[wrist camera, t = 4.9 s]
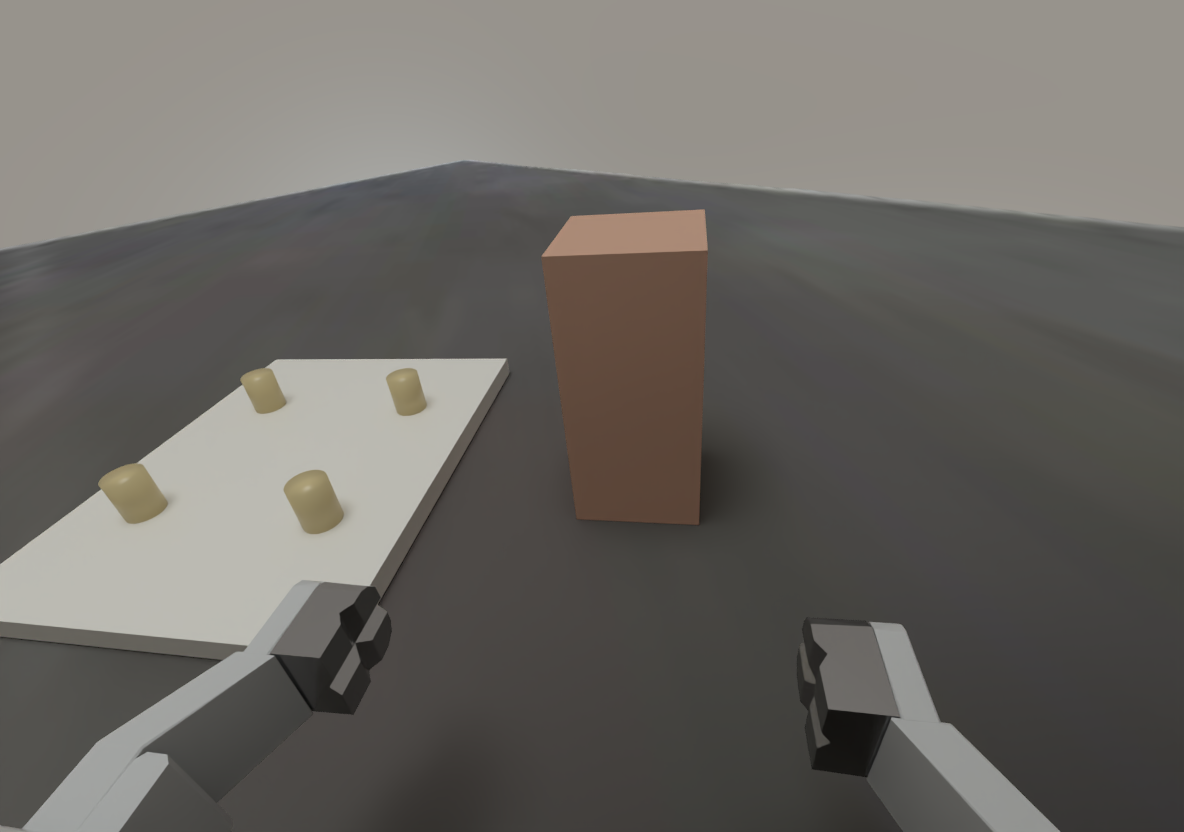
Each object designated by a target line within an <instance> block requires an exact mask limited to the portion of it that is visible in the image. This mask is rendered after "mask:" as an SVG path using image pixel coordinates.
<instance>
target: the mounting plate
mask: <svg viewBox="0 0 1184 832" xmlns="http://www.w3.org/2000/svg"><path fill="white" fill-rule="evenodd" d="M508 375H509V367H508V362H507V359H320V360H275V361H274V362H273V363H271V364H270V365H269V366H267V367H266V368H262V369H257V370H253V371H251V372H248V373H246V374H245V375H243V376H242V377H241V379H240V380H241V382H242V384H243V385H242V386H240V387H239V388H238V389H236V390H235V391H233V392H232V393H231V394H229V395H228V396H227V397H225V398H224V399H223V400H221V401H220V402H219V403H217V404H216V405H215V406H213V407H212V408H211V409H209V410H208V411H206V412H205V413H204V414H202V415H201V416H200V417H198V418H197V419H196V420H194V421H193V422H192V423H190V424H189V425H188V426H186V427H185V428H184V429H182V430H181V431H180V432H178V433H177V434H175V435H174V436H173V437H171V438H170V439H169V440H167V441H166V442H165V443H163V444H162V445H161V446H159V447H158V448H157V449H155V450H154V451H153V452H151V453H150V454H148V455H147V456H146V457H144V458H143V459H142V460H140V461H139V462H138V463H136V464H129V465H125V466H122V467H119V468H117V469H115V470H113V471H111V472H109V473H108V474H106V475H105V476H104V477H102V478H101V480H100V481H99V483H98V485H99V487H100V488H101V490H100V491H99V492H97V493H96V494H95V495H93V496H92V497H90V498H89V499H88V500H86V501H85V502H84V503H82V504H81V505H80V506H78V507H77V508H76V509H74V510H73V511H72V512H70V513H69V514H68V515H66V516H65V517H63V518H62V519H61V520H59V521H58V522H57V523H55V524H54V525H53V526H51V527H50V528H49V529H47V530H46V531H45V532H43V533H42V534H41V535H39V536H38V537H37V538H35V539H34V540H32V541H31V542H30V543H28V544H27V545H26V546H24V547H23V548H22V549H20V550H19V551H18V552H16V553H15V554H14V555H12V556H11V557H10V558H8V559H7V560H5V561H4V562H3V563H1V564H0V637H8V638H18V639H28V640H37V641H47V642H56V643H66V644H75V645H85V646H94V647H104V648H113V649H123V650H133V651H142V652H152V653H161V654H171V655H180V656H190V657H199V658H209V659H218V660H224V659H226V658H227V657H229V656H230V655H232V654H234V653H235V652H244V650H245V649H246V648H247V646H248V645H249V644H250V643H251V641H252V640H253V639H254V637H255V636H256V635H257V633H258V632H259V631H260V629H261V628H262V627H263V625H264V624H265V623H266V621H267V620H268V619H269V617H270V616H271V615H272V613H273V612H274V611H275V609H276V608H277V607H278V605H279V604H280V603H281V601H282V600H283V599H284V597H285V596H286V595H287V593H288V592H289V591H290V589H291V588H292V587H293V586H294V585H295V584H297V583H298V582H300V581H301V580H310V581H323V582H332V583H342V584H353V585H363V586H374V587H376V589H377V591H378V593H379V595H380V597H381V598H382V596H383V594H384V593H385V591H386V589H387V587H388V586H389V584H390V582H391V580H392V579H393V577H394V575H395V573H396V572H397V570H398V568H399V566H400V565H401V563H402V561H403V559H404V558H405V556H406V554H407V552H408V551H409V549H410V547H411V545H412V544H413V542H414V540H415V538H416V537H417V535H418V533H419V531H420V529H421V528H422V526H423V524H424V522H425V521H426V519H427V517H428V515H429V514H430V512H431V510H432V508H433V507H434V505H435V503H436V501H437V500H438V498H439V496H440V494H441V493H442V491H443V489H444V487H445V486H446V484H447V482H448V480H449V479H450V477H451V475H452V473H453V472H454V470H455V468H456V466H457V464H458V463H459V461H460V459H461V457H462V456H463V454H464V452H465V450H466V449H467V447H468V445H469V443H470V442H471V440H472V438H473V436H474V435H475V433H476V431H477V429H478V428H479V426H480V424H481V422H482V421H483V419H484V417H485V415H486V414H487V412H488V410H489V408H490V407H491V405H492V403H493V401H494V400H495V398H496V396H497V394H498V392H499V391H500V389H501V387H502V385H503V384H504V382H505V380H506V378H507V377H508ZM381 598H380V600H381ZM380 600H379V602H380ZM379 602H378V603H379ZM378 603H377V604H378Z"/></svg>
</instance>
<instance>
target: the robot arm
mask: <svg viewBox="0 0 1184 832" xmlns="http://www.w3.org/2000/svg"><path fill="white" fill-rule="evenodd" d="M380 598H381V597H380V595H379V593H378V591H377V589H376V587H374V586H363V585H353V584H342V583H332V582H323V581H310V580H301V581H300V582H298V583H297V584H295V585H294V586H293V587H292V588H291V589H290V591H289V592H288V593H287V595H286V596H285V597H284V599H283V600H282V601H281V603H280V604H279V605H278V607H277V608H276V609H275V611H274V612H273V613H272V615H271V616H270V617H269V619H268V620H267V621H266V623H265V624H264V625H263V627H262V628H261V629H260V631H259V632H258V633H257V635H256V636H255V637H254V639H253V640H252V641H251V643H250V644H249V645H248V646H247V648H246V649H245V650H244V652H235V653H234V654H232V655H230V656H229V657H227V658H226V659H224V660H223V661H221V662H220V663H218V664H217V665H215V666H214V667H212V668H210V669H209V670H207V671H206V672H204V673H203V674H201V675H200V676H198V677H197V678H195V679H193V680H192V681H190V682H189V683H187V684H186V685H184V686H183V687H181V688H180V689H178V690H177V691H175V692H173V693H172V694H170V695H169V696H167V697H166V698H164V699H163V700H161V701H160V702H158V703H157V704H155V705H153V706H152V707H150V708H149V709H147V710H146V711H144V712H143V713H141V714H140V715H138V716H136V717H135V718H133V719H132V720H130V721H129V722H127V723H126V724H124V725H123V726H121V727H120V728H118V729H116V730H115V731H113V732H112V733H110V734H109V735H107V736H106V737H104V738H103V739H101V740H100V741H98V742H97V743H96V744H95V745H94V746H93V748H92V749H91V750H90V751H89V752H88V753H87V754H86V756H85V757H84V758H83V759H82V760H81V761H80V763H79V764H78V765H77V766H76V767H75V768H74V769H73V771H72V772H71V773H70V774H69V775H68V776H67V778H66V779H65V780H64V781H63V782H62V783H61V785H60V786H59V787H58V788H57V789H56V790H55V791H54V793H53V794H52V795H51V796H50V797H49V798H48V800H47V801H46V802H45V803H44V804H43V805H42V806H41V808H40V809H39V810H38V811H37V812H36V813H35V815H34V816H33V817H32V818H31V819H30V820H29V821H28V823H27V824H26V825H25V826H24V827H23V828H22V829H18V828H13V827H7V826H2V825H0V832H230V831H231V830H232V828H233V822H232V818H231V817H230V816H229V815H228V814H227V813H226V812H225V811H224V810H223V809H222V808H221V807H220V806H219V805H218V804H217V802H218V801H219V800H220V799H222V798H223V797H224V796H225V795H226V794H227V793H228V792H229V791H230V790H231V789H232V788H234V787H235V786H236V785H237V784H238V783H239V782H240V781H241V780H242V779H243V778H244V777H245V776H247V775H248V774H249V773H250V772H251V771H252V770H253V769H254V768H255V767H256V766H257V765H258V764H260V763H261V762H262V761H263V760H264V759H265V758H266V757H267V756H268V755H269V754H270V753H271V752H273V751H274V750H275V749H276V748H277V747H278V746H279V745H280V744H281V743H282V742H283V741H285V740H286V739H287V738H288V737H289V736H290V735H291V734H292V733H293V732H294V731H295V730H296V729H298V728H299V727H300V726H301V725H302V724H303V723H304V722H305V721H306V720H307V719H308V718H309V717H311V716H312V715H313V712H312V711H316V712H328V713H339V714H351V715H354V713H355V711H356V709H357V707H358V705H359V703H360V701H361V699H362V698H363V696H364V694H365V692H366V690H367V688H368V686H369V684H370V682H371V680H370V673H369V670H370V669H371V668H372V667H373V666H375V665H376V664H377V663H379V662H380V661H381V660H382V658H383V656H384V654H385V652H386V650H387V648H388V646H389V641H390V637H391V632H392V628H391V620H390V617H389V615H388V612H387V611H385V610H384V609H383V608H381V607H380V606H379V605H378V604H377V603H378V602H379V600H380ZM802 633H803V638H804V643H802V644H801V645H799V648H798V655H797V681H798V690H799V696H800V702H801V703H802V704H803V705H804V706H805V708H806V709H807V710H808V715H807V719H806V724H805V733H806V739H807V744H808V750H809V756H810V762H811V767H812V769H814V770H821V771H827V772H834V773H841V774H848V775H855V776H862V777H867V782H868V783H869V784H870V786H871V787H872V789H873V790H874V791H875V793H876V794H877V796H878V797H879V798H880V800H881V801H882V803H883V804H884V805H885V807H886V808H887V810H888V811H889V812H890V814H891V815H892V817H893V818H894V820H895V821H896V822H897V824H898V825H899V827H900V828H901V829H902V831H903V832H1060V831H1059V830H1058V829H1057V828H1056V827H1055V826H1054V825H1053V824H1052V823H1051V822H1050V821H1049V820H1048V819H1047V818H1046V817H1045V816H1044V815H1043V814H1042V813H1041V812H1040V811H1039V810H1038V809H1037V808H1036V807H1035V806H1034V805H1033V804H1032V803H1031V802H1030V801H1029V800H1028V799H1027V798H1026V797H1025V796H1024V795H1023V794H1022V793H1021V792H1020V791H1019V790H1018V789H1017V788H1016V787H1014V786H1013V785H1012V784H1011V783H1010V782H1009V781H1008V780H1007V779H1006V778H1005V777H1004V776H1003V775H1002V774H1001V773H1000V772H999V771H998V770H997V769H996V768H995V767H994V766H993V765H992V764H991V763H990V762H989V761H988V760H987V759H986V758H985V757H984V756H983V755H982V754H981V753H980V752H979V751H978V750H977V749H976V748H975V747H974V746H973V745H972V744H971V743H970V742H969V741H968V740H967V739H966V738H965V737H964V736H963V735H962V734H961V733H960V732H959V731H958V730H957V729H956V728H955V727H954V726H953V725H952V724H949V723H942V722H940V720H939V717H938V714H937V712H936V709H935V706H934V704H933V701H932V698H931V696H930V693H929V690H928V688H927V685H926V682H925V680H924V677H923V674H922V672H921V669H920V666H919V664H918V661H917V658H916V656H915V653H914V650H913V648H912V645H911V642H910V640H909V637H908V634H907V632H906V630H905V629H904V627H903V626H902V625H901V624H896V623H879V622H867V621H862V620H844V619H827V618H810V617H807V618H806V619H805V620H804V623H803V628H802Z"/></svg>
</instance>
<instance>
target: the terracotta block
mask: <svg viewBox="0 0 1184 832" xmlns="http://www.w3.org/2000/svg"><path fill="white" fill-rule="evenodd" d="M707 254H708V249H707V235H706V222H705V210H686V211H666V212H646V213H626V214H606V215H586V216H571V217H570V219H569V220H568V221H567V223H566V224H565V225H564V227H563V228H562V229H561V231H560V232H559V233H558V235H557V236H556V238H555V239H554V240H553V242H552V243H551V244H550V246H549V247H548V248H547V250H546V251H545V252H544V254H543V255H542V265H543V272H544V280H545V287H546V295H547V302H548V309H549V317H550V324H551V332H552V339H553V347H554V354H555V362H556V369H557V376H558V384H559V391H560V399H561V406H562V414H563V421H564V429H565V436H566V443H567V451H568V458H569V466H570V473H571V481H572V488H573V496H574V503H575V511H576V518H577V519H582V520H603V521H624V522H645V523H666V524H687V525H699V509H700V477H701V445H702V414H703V382H704V350H705V318H706V286H707Z"/></svg>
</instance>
